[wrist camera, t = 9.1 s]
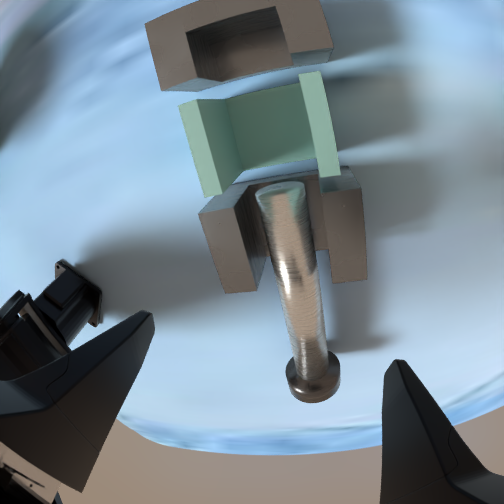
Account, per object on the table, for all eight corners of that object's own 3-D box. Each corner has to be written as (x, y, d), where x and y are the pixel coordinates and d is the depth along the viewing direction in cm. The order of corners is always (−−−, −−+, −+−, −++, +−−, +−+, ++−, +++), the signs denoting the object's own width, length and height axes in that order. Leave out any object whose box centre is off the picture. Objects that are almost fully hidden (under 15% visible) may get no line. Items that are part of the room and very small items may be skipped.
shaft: (339, 360, 23) (340, 401, 20) (291, 363, 25) (286, 403, 21) (319, 172, 16) (322, 196, 12) (247, 184, 17) (229, 210, 13)
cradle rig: (356, 238, 18) (367, 279, 14) (242, 252, 21) (225, 293, 16) (309, 5, 11) (309, -26, 7) (183, 38, 14) (144, 24, 10)
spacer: (330, 153, 16) (340, 174, 11) (233, 169, 18) (204, 197, 13) (316, 81, 14) (320, 70, 9) (215, 103, 16) (177, 105, 11)
